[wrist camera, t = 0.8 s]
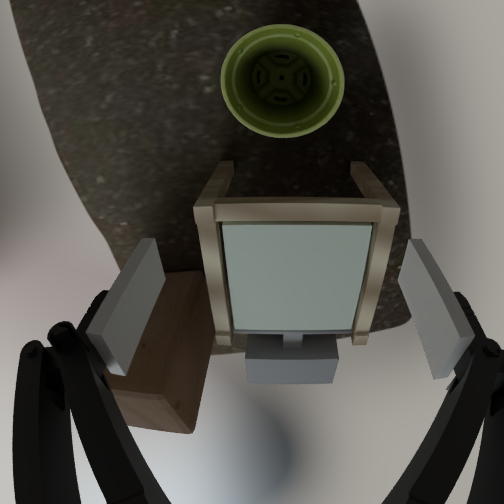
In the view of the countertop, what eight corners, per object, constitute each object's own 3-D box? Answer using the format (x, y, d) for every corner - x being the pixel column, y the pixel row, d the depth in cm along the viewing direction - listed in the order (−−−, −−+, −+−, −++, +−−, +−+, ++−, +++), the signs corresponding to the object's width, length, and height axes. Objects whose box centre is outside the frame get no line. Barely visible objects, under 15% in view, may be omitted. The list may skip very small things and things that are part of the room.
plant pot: (325, 123, 30) (341, 141, 23) (236, 120, 30) (222, 138, 23) (327, 39, 25) (345, 28, 17) (234, 37, 25) (219, 25, 18)
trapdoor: (224, 211, 26) (216, 234, 23) (367, 211, 25) (379, 235, 22) (241, 356, 37) (237, 382, 34) (338, 357, 36) (341, 382, 33)
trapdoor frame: (220, 161, 33) (193, 206, 23) (363, 161, 32) (400, 208, 22) (231, 276, 42) (217, 344, 32) (349, 276, 40) (365, 344, 30)
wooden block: (204, 266, 41) (163, 396, 25) (220, 318, 47) (196, 437, 30) (140, 271, 43) (82, 384, 26) (162, 320, 48) (124, 427, 32)
